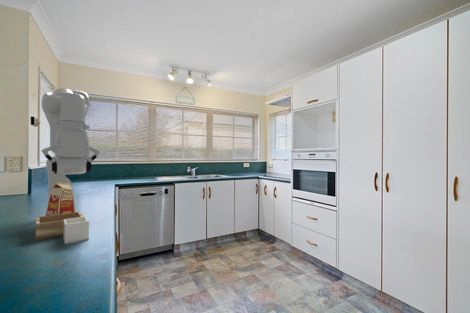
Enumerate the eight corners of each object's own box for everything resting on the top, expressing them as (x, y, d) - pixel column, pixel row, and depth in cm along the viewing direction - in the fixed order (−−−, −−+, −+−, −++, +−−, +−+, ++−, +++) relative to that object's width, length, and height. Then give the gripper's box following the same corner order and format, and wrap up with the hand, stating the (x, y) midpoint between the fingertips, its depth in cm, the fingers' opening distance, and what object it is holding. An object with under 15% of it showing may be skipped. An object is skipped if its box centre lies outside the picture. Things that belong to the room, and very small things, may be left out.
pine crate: (36, 231, 92) (36, 217, 92) (80, 224, 102) (80, 211, 102) (35, 241, 81) (35, 224, 81) (84, 232, 91) (84, 217, 91)
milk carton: (59, 227, 98) (60, 182, 98) (43, 225, 100) (43, 181, 100) (78, 221, 107) (78, 180, 107) (62, 220, 109) (63, 179, 109)
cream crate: (63, 237, 85) (63, 219, 85) (85, 233, 89) (85, 216, 90) (65, 244, 78) (65, 224, 78) (88, 239, 83) (88, 221, 83)
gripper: (97, 130, 91) (97, 172, 90) (42, 126, 80) (41, 173, 79) (101, 128, 85) (101, 172, 85) (41, 123, 74) (41, 174, 73)
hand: (72, 173), depth 82 cm, fingers open, 9 cm apart
